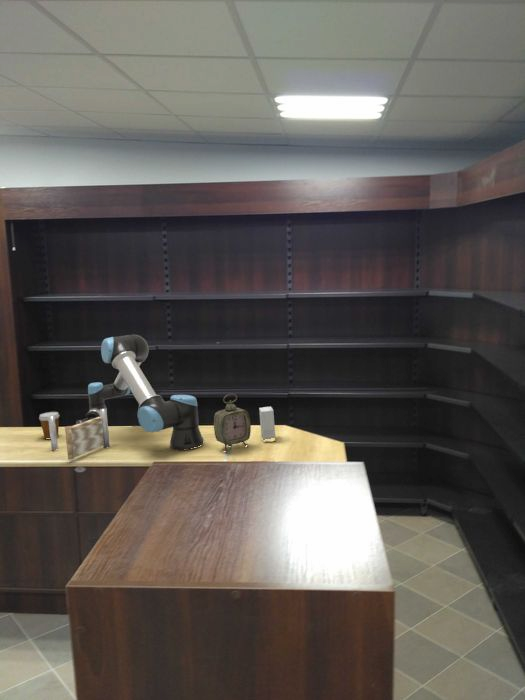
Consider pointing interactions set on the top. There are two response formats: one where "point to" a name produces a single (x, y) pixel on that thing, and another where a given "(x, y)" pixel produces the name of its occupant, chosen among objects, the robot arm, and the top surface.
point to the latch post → (53, 432)
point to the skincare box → (267, 423)
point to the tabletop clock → (232, 424)
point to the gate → (84, 437)
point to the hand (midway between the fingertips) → (80, 432)
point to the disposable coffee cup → (45, 422)
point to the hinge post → (105, 427)
